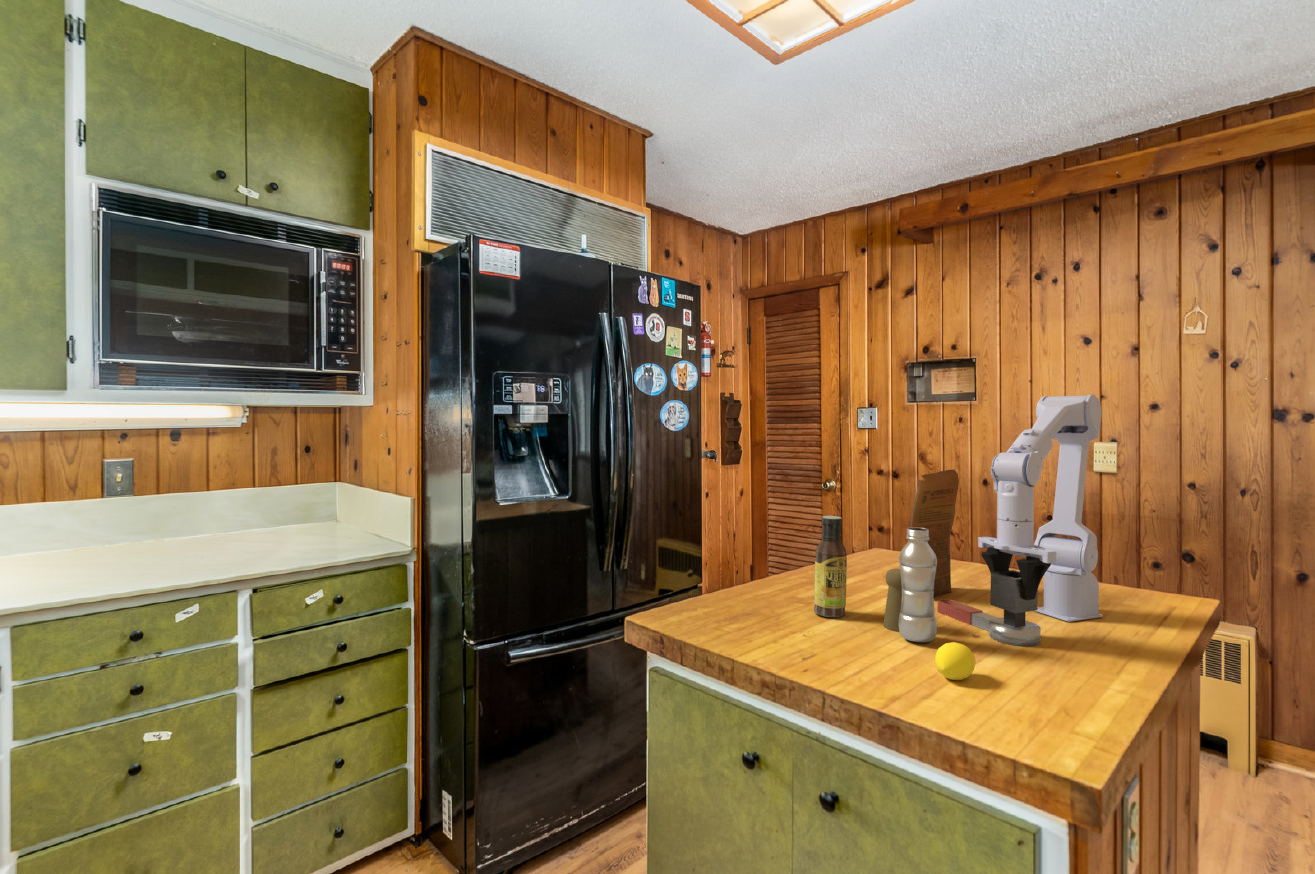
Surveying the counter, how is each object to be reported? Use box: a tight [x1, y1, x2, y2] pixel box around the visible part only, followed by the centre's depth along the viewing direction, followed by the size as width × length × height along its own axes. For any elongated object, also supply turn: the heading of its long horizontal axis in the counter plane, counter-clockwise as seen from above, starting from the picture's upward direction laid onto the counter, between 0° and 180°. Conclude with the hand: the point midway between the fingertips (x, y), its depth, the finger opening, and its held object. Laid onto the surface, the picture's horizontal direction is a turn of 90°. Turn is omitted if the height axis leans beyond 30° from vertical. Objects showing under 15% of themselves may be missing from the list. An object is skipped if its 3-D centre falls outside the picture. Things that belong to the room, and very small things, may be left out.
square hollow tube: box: [989, 569, 1039, 614], centre depth 111 cm, size 5×5×6 cm
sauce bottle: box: [813, 515, 848, 618], centre depth 126 cm, size 6×6×20 cm
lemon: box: [934, 641, 977, 681], centre depth 95 cm, size 7×5×5 cm
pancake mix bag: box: [909, 469, 960, 598], centre depth 140 cm, size 7×19×28 cm, turn 124°
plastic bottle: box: [898, 527, 938, 643], centre depth 111 cm, size 6×7×20 cm
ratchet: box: [937, 598, 1042, 647], centre depth 118 cm, size 8×21×6 cm, turn 18°
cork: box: [882, 568, 902, 633], centre depth 118 cm, size 6×6×11 cm
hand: (1014, 594), depth 111 cm, fingers closed on square hollow tube, 5 cm apart
